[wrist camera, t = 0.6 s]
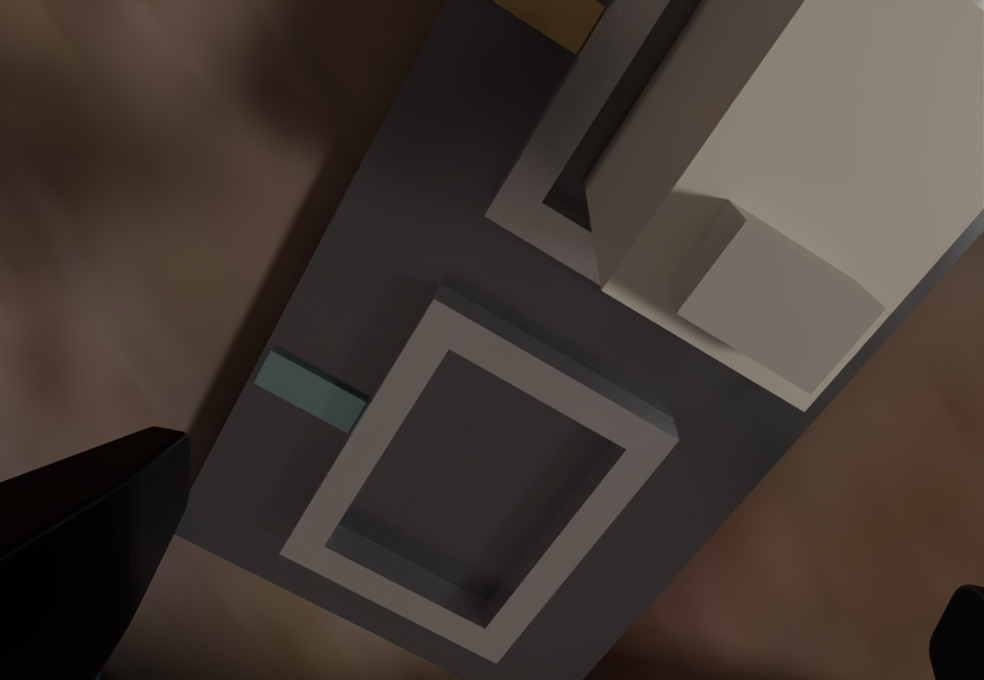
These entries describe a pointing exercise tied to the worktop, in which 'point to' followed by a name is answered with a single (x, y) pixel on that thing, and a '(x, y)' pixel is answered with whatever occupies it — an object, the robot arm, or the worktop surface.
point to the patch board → (492, 371)
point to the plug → (793, 178)
